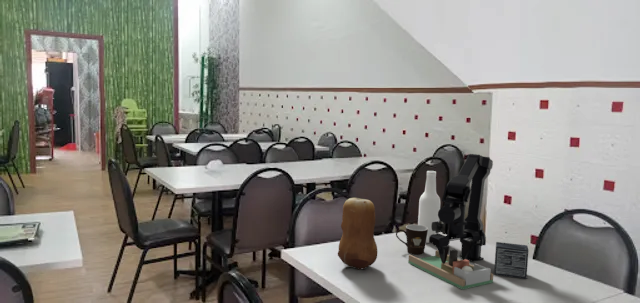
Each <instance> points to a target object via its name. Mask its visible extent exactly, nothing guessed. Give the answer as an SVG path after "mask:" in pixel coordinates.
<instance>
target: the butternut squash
mask: <svg viewBox="0 0 640 303" xmlns="http://www.w3.org/2000/svg"><path fill="white" fill-rule="evenodd" d="M341 220H342V221H341V225H340V227H341V230H342V236H341V238H340V241H339V244H338V252H337V257H338V258H339V259H340V260H341V261H342V263H343V264H344V265H345V266H347V267H350V268H354V269H356V270H365V269H367V268H368V267H370V266H372V265H373V264H374V263H375V262H376V260H377V258H378V246H377V243H376V240H375V235H374V234H375V232H374V231H375V225H376V209H375V205H374V203H373V202H372V201H371V200H369V199H365V198H359V197H350V198H347V199H346V200H345V201H344V203H343V205H342V218H341Z"/></svg>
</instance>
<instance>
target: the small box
mask: <svg viewBox="0 0 640 303" xmlns="http://www.w3.org/2000/svg"><path fill="white" fill-rule="evenodd" d="M529 251H530V250H529V248H528V244H527V245H525V244H516V243H511V242H510V243H509V242H499V241H496V242H495V253H494V254H495V255H494V272H493V275H495V276H501V277H509V278H516V279H521V280H522V279H523V280H526V279H528V276H527V275H528V266H529V265H528V264H529Z"/></svg>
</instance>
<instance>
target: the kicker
mask: <svg viewBox="0 0 640 303" xmlns="http://www.w3.org/2000/svg"><path fill="white" fill-rule="evenodd" d="M458 253H459V251H458V250H457V249H449V251H448V255H449V262H445V264H443V263H441V269H443V270H445V271H447V272H449V273H452V274H453V275H454V267H457V268H460V269H462V268H463V267H464V266H469V264H470V261H469V260H467V259H465V260H462V259H460V261H457V259H458V257H459V256H458Z"/></svg>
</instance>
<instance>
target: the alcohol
mask: <svg viewBox="0 0 640 303" xmlns="http://www.w3.org/2000/svg"><path fill="white" fill-rule="evenodd" d="M436 177H437V171H436V170H435V171H434V170H427V171H426V179H425V187H424V192H422V194H421V195H420V197H419V200H418V201H419V202H418V216H417V218H418V219H417V225H422V226H425V227H427V228H428V232H427V238H426V243H425V244H431V243H430V242H429V237H430V236H431V235H432V234H440V232H439V233H436V231H432V227H431V226H432V222H437V221H438V222H439V223H440V219H439V217H438V212H439V210H440V208H441V197H440V196H439V195H438V193H437V192H438V191H437V178H436Z"/></svg>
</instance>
